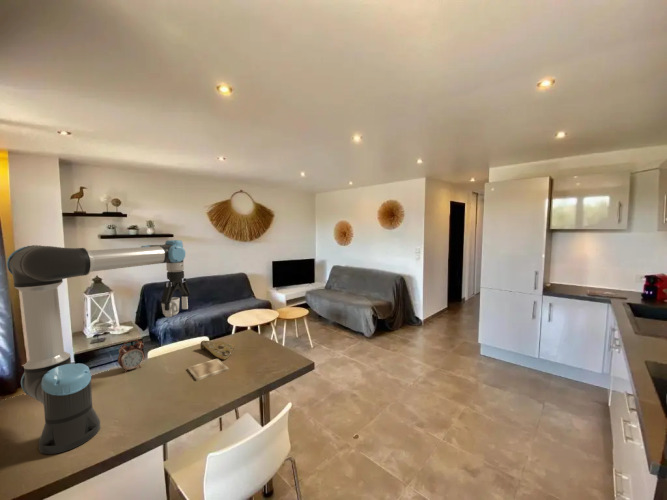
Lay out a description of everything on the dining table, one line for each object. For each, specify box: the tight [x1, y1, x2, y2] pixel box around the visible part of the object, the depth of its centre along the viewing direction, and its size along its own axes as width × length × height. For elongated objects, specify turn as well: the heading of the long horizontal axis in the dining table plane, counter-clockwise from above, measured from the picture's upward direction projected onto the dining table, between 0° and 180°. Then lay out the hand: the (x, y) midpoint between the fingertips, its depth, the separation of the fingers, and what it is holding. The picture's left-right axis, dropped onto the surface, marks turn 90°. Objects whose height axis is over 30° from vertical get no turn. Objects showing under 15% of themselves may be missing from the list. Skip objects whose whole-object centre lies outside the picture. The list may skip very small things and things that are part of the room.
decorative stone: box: [200, 340, 235, 360], centre depth 162 cm, size 25×15×5 cm, turn 47°
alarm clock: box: [117, 339, 146, 373], centre depth 142 cm, size 11×5×15 cm, turn 144°
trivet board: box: [187, 357, 229, 381], centre depth 141 cm, size 15×15×1 cm
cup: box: [160, 296, 180, 316], centre depth 138 cm, size 11×8×8 cm
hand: (177, 312), depth 142 cm, fingers open, 13 cm apart
